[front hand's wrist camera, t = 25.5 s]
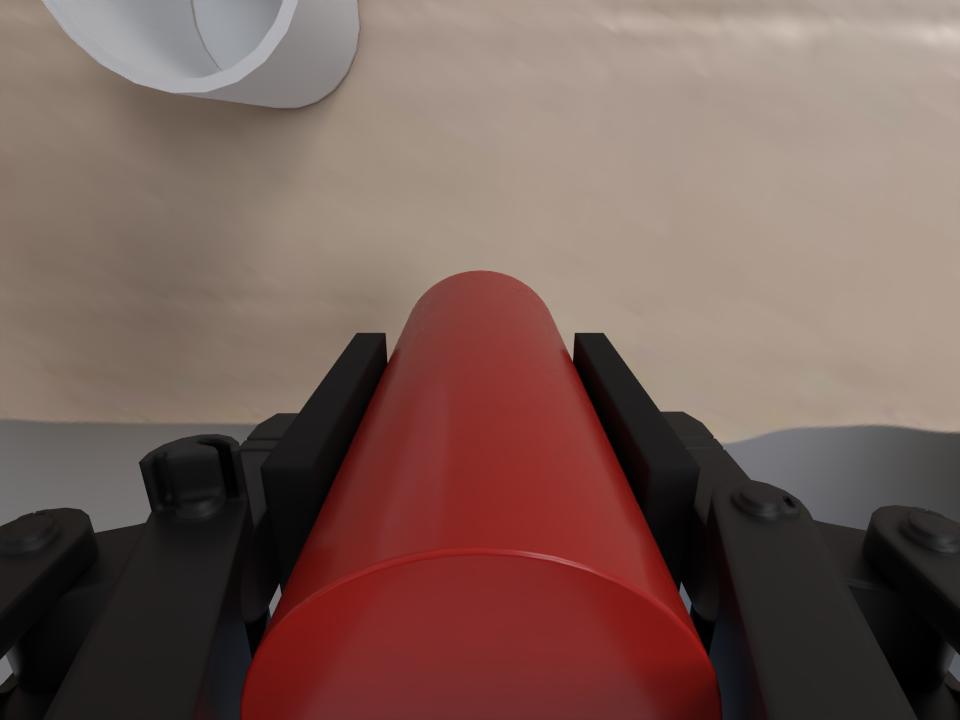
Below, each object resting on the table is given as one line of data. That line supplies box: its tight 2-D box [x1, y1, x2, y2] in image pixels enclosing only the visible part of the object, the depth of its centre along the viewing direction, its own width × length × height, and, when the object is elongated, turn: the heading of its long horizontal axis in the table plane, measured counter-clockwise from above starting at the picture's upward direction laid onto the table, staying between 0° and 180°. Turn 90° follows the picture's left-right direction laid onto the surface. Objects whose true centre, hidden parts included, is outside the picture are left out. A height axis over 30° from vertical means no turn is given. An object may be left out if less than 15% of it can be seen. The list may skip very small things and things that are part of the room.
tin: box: [240, 271, 722, 720], centre depth 11 cm, size 5×5×12 cm
